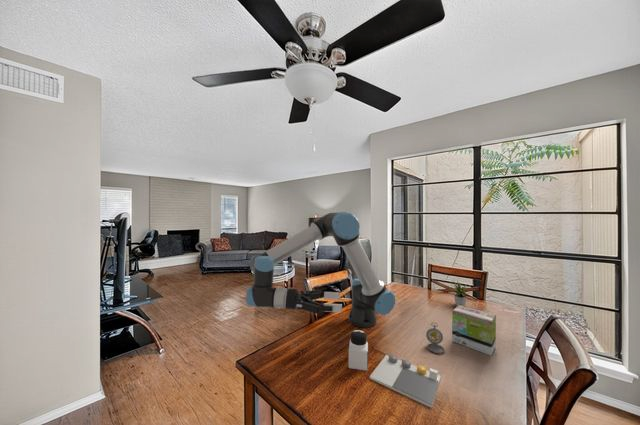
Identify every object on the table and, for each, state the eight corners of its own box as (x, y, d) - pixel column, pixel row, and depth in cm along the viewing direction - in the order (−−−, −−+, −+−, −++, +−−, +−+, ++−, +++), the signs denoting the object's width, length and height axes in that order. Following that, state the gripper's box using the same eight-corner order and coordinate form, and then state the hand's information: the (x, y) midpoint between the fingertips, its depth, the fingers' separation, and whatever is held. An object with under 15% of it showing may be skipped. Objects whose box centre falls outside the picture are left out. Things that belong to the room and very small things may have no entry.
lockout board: (369, 378, 80) (369, 370, 80) (386, 356, 93) (386, 349, 93) (431, 407, 68) (431, 398, 68) (441, 377, 81) (441, 369, 81)
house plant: (440, 301, 154) (440, 277, 154) (456, 299, 158) (456, 276, 158) (459, 310, 140) (459, 283, 141) (476, 307, 145) (476, 282, 145)
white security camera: (367, 371, 84) (367, 338, 84) (348, 368, 86) (348, 336, 86) (367, 359, 91) (367, 329, 91) (349, 357, 93) (350, 327, 93)
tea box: (451, 342, 105) (451, 309, 105) (457, 334, 112) (457, 304, 112) (492, 356, 94) (492, 320, 94) (496, 347, 101) (496, 313, 101)
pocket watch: (435, 355, 94) (435, 331, 94) (421, 344, 102) (421, 322, 102) (451, 352, 96) (451, 328, 97) (436, 342, 104) (436, 320, 105)
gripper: (291, 297, 102) (338, 300, 101) (279, 322, 77) (342, 326, 77) (292, 280, 102) (339, 283, 102) (280, 299, 77) (343, 303, 77)
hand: (340, 301), depth 89 cm, fingers open, 13 cm apart
